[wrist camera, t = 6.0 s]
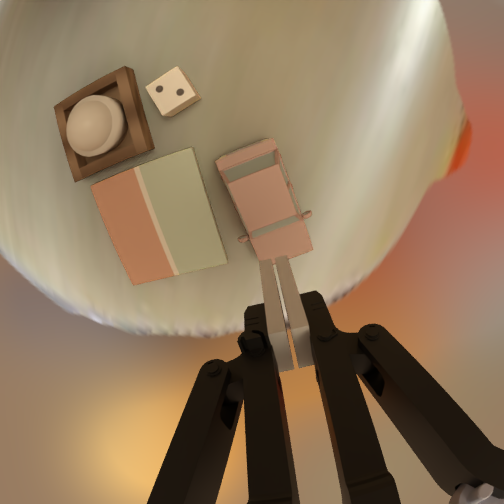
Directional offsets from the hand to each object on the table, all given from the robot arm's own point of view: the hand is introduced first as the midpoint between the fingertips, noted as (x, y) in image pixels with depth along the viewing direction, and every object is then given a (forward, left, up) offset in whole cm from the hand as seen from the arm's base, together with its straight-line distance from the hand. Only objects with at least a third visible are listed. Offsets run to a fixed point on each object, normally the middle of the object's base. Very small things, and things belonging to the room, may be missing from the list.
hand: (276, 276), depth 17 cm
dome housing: (-16, -18, -21) cm, 32 cm away
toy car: (+1, +1, -21) cm, 21 cm away
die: (-16, -7, -21) cm, 27 cm away
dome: (-16, -18, -20) cm, 31 cm away
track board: (0, -15, -21) cm, 25 cm away
